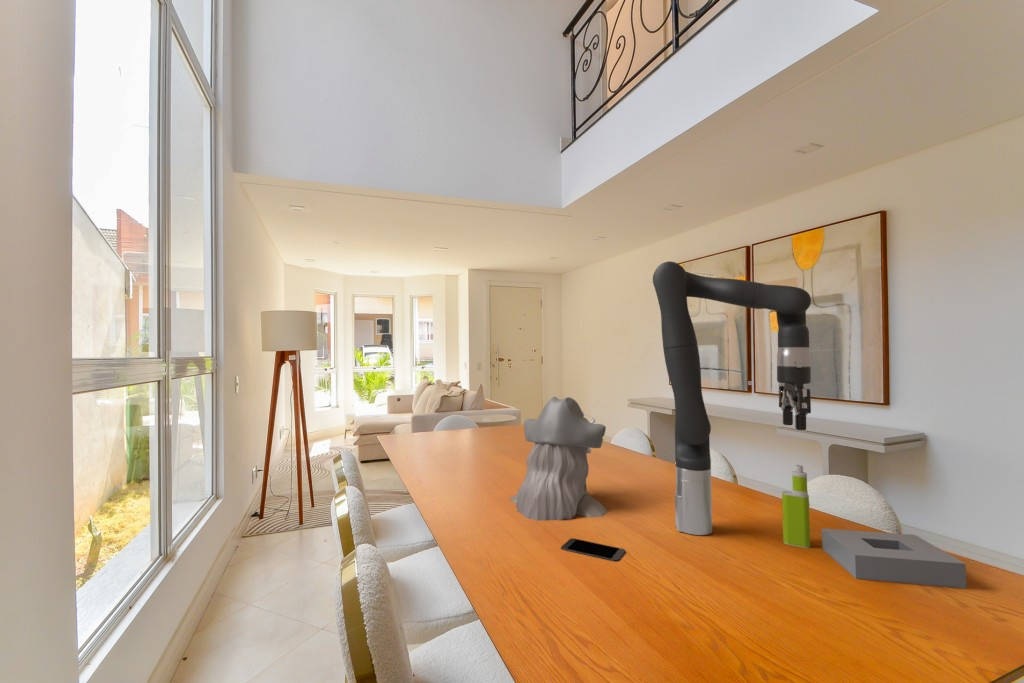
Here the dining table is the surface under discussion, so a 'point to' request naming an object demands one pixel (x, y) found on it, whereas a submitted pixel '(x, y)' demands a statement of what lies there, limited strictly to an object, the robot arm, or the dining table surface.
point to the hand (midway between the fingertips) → (794, 427)
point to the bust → (559, 464)
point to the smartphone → (594, 549)
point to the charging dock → (893, 558)
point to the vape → (796, 511)
